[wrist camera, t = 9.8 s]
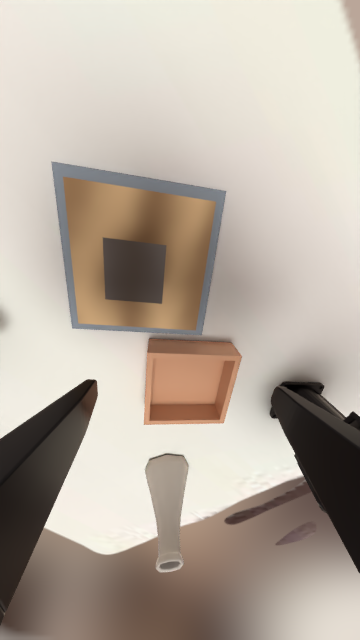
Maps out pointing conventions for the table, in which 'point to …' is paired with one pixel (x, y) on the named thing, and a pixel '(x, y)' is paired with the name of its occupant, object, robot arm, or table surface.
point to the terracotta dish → (189, 381)
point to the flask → (167, 506)
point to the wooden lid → (137, 254)
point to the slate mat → (144, 184)
